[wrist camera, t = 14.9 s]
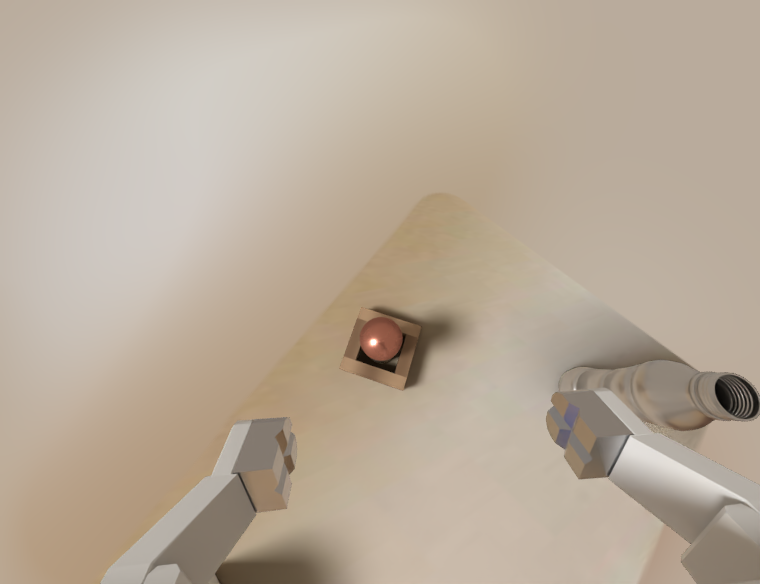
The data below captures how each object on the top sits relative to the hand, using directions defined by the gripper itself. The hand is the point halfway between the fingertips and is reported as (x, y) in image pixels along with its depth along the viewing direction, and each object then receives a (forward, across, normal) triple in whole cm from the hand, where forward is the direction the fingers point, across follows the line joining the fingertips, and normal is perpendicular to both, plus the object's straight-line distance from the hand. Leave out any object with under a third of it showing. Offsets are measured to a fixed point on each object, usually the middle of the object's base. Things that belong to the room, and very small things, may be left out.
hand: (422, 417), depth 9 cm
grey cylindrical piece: (+29, 0, +20) cm, 35 cm away
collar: (+29, 0, +20) cm, 35 cm away
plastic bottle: (+23, -27, +26) cm, 44 cm away
